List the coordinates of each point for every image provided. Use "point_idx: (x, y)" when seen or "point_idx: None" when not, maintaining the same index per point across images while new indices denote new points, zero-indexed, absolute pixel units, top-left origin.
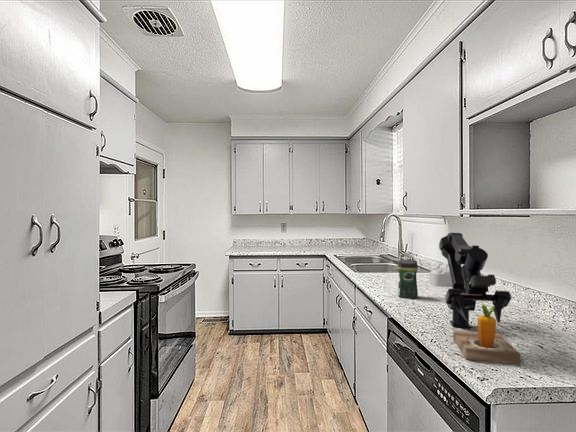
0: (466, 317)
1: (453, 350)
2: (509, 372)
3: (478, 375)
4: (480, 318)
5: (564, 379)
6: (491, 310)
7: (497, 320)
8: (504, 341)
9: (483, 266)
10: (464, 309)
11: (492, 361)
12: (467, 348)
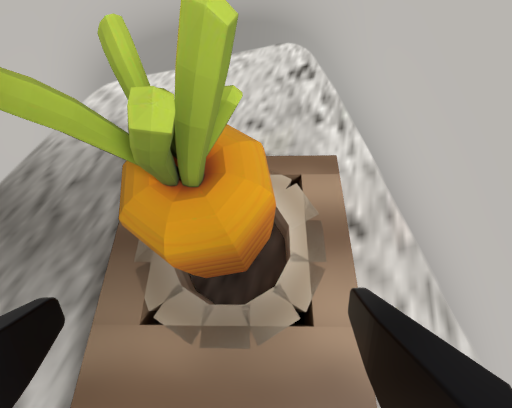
0: (374, 297)
1: (368, 266)
2: None
3: (308, 85)
4: (261, 154)
5: (92, 107)
6: (132, 42)
7: (45, 331)
8: (111, 310)
9: None
10: (465, 381)
11: None
12: (331, 164)
